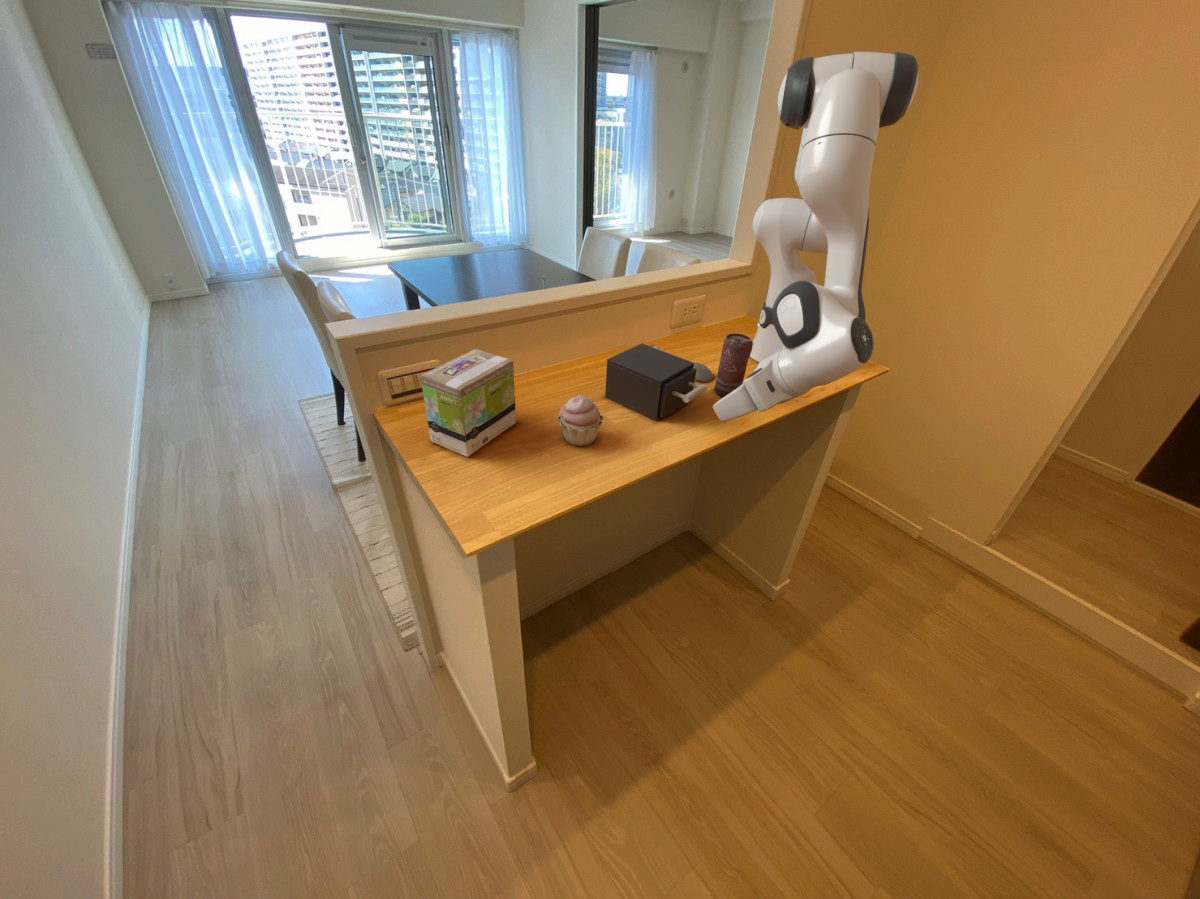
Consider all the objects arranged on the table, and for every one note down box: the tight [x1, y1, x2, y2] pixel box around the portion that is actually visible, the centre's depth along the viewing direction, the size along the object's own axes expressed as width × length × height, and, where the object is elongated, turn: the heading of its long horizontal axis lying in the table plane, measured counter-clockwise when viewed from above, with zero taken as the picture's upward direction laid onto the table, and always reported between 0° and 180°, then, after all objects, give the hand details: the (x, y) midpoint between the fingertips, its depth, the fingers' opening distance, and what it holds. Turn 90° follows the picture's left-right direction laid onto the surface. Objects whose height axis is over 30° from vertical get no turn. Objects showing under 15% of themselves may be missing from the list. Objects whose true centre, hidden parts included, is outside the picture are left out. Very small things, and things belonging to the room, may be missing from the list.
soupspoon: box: [649, 344, 714, 383], centre depth 128 cm, size 22×3×7 cm
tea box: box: [420, 348, 517, 458], centre depth 95 cm, size 15×10×15 cm, turn 151°
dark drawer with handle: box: [658, 368, 707, 419], centre depth 109 cm, size 18×11×8 cm, turn 49°
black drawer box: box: [604, 343, 695, 422], centre depth 111 cm, size 15×13×10 cm
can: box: [714, 333, 753, 398], centre depth 113 cm, size 6×6×14 cm
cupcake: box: [555, 394, 604, 447], centre depth 96 cm, size 9×9×10 cm
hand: (722, 405), depth 100 cm, fingers closed
